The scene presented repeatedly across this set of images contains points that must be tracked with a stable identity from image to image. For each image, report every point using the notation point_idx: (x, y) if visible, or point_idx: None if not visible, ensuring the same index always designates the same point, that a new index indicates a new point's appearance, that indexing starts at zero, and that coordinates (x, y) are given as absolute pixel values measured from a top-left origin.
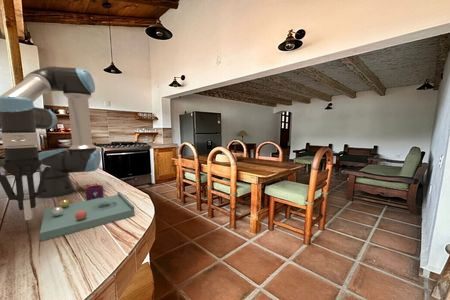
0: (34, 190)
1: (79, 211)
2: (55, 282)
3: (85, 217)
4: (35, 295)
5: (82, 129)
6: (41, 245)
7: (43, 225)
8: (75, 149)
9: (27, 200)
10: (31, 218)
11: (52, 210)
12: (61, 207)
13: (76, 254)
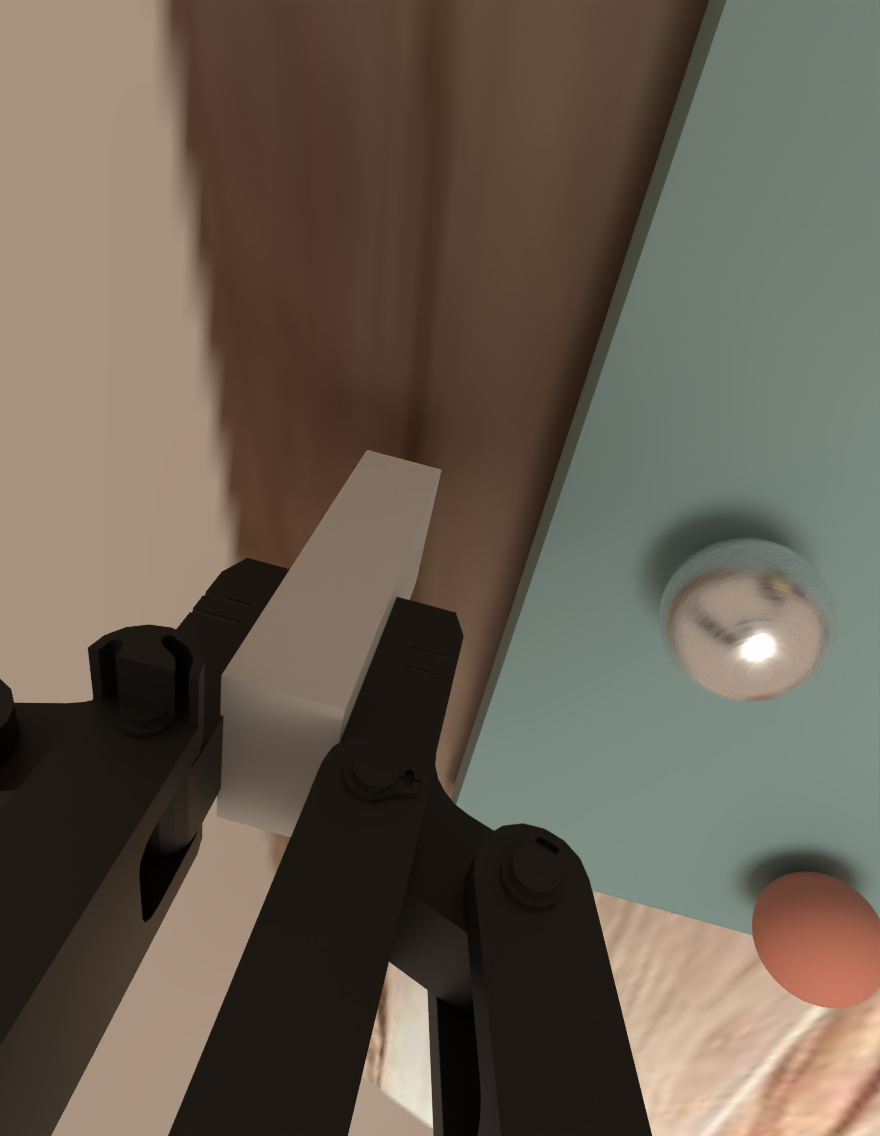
0: (385, 966)
1: (809, 998)
2: (426, 1083)
3: (862, 874)
4: (369, 1080)
5: None
6: None
7: (502, 724)
8: None
9: (290, 825)
10: (414, 583)
11: (677, 640)
12: (819, 665)
13: None
